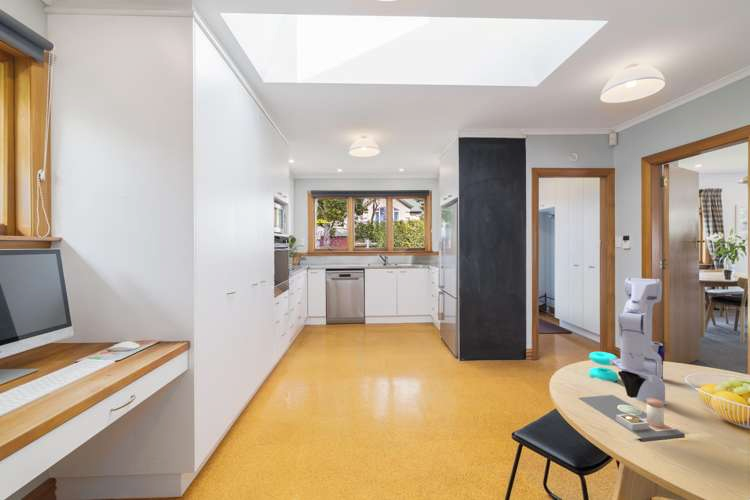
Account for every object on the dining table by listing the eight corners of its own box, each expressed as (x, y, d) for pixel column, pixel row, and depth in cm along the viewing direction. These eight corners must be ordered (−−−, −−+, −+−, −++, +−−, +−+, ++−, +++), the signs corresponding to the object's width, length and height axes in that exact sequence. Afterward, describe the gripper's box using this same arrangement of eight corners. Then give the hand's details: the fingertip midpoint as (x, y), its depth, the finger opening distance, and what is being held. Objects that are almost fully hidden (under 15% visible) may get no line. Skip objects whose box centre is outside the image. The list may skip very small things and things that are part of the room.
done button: (632, 420, 104) (632, 413, 104) (642, 426, 100) (642, 419, 100) (621, 421, 103) (621, 414, 103) (632, 427, 100) (632, 420, 100)
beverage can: (666, 381, 135) (666, 344, 134) (651, 380, 136) (651, 344, 136) (658, 376, 140) (658, 341, 139) (644, 375, 141) (644, 340, 141)
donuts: (611, 360, 132) (584, 353, 141) (611, 385, 132) (584, 376, 141) (622, 355, 137) (596, 349, 146) (622, 379, 138) (596, 371, 146)
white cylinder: (655, 420, 104) (655, 397, 104) (667, 427, 100) (667, 403, 100) (643, 420, 104) (643, 398, 104) (655, 427, 100) (654, 404, 100)
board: (612, 398, 122) (612, 390, 121) (684, 437, 97) (684, 427, 97) (577, 401, 120) (577, 392, 120) (641, 442, 95) (641, 431, 95)
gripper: (601, 345, 108) (601, 387, 108) (642, 361, 94) (642, 409, 94) (620, 344, 109) (620, 385, 109) (664, 359, 95) (664, 407, 95)
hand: (632, 396), depth 102 cm, fingers closed
